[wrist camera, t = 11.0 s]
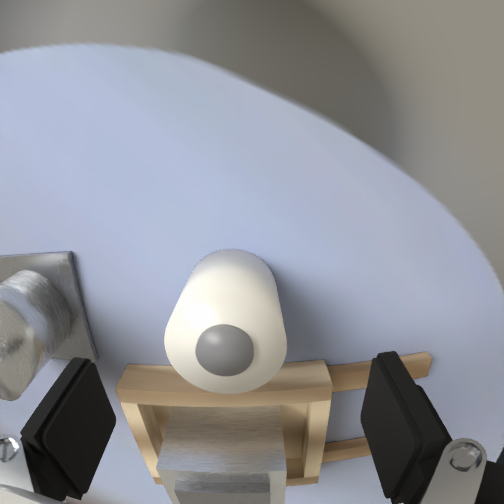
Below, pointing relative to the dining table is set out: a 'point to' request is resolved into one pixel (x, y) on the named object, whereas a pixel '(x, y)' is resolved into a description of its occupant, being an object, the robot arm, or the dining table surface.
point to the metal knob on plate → (39, 317)
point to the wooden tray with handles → (271, 393)
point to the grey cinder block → (224, 455)
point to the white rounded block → (227, 324)
